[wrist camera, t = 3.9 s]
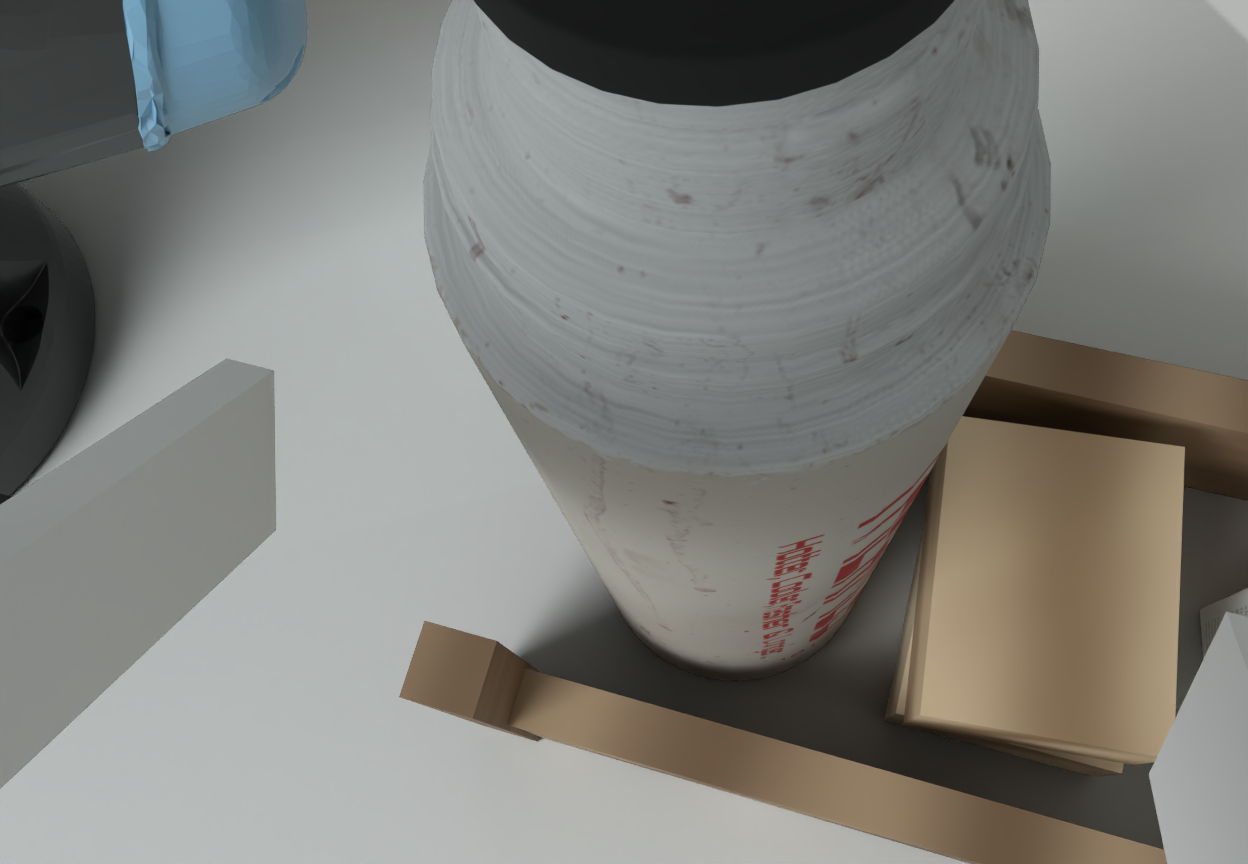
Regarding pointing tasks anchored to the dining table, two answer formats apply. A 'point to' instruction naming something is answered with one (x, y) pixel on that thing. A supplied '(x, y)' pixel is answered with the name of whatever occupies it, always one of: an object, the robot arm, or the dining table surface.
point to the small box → (1221, 615)
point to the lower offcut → (1036, 754)
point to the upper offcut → (1050, 591)
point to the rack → (832, 786)
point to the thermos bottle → (735, 279)
